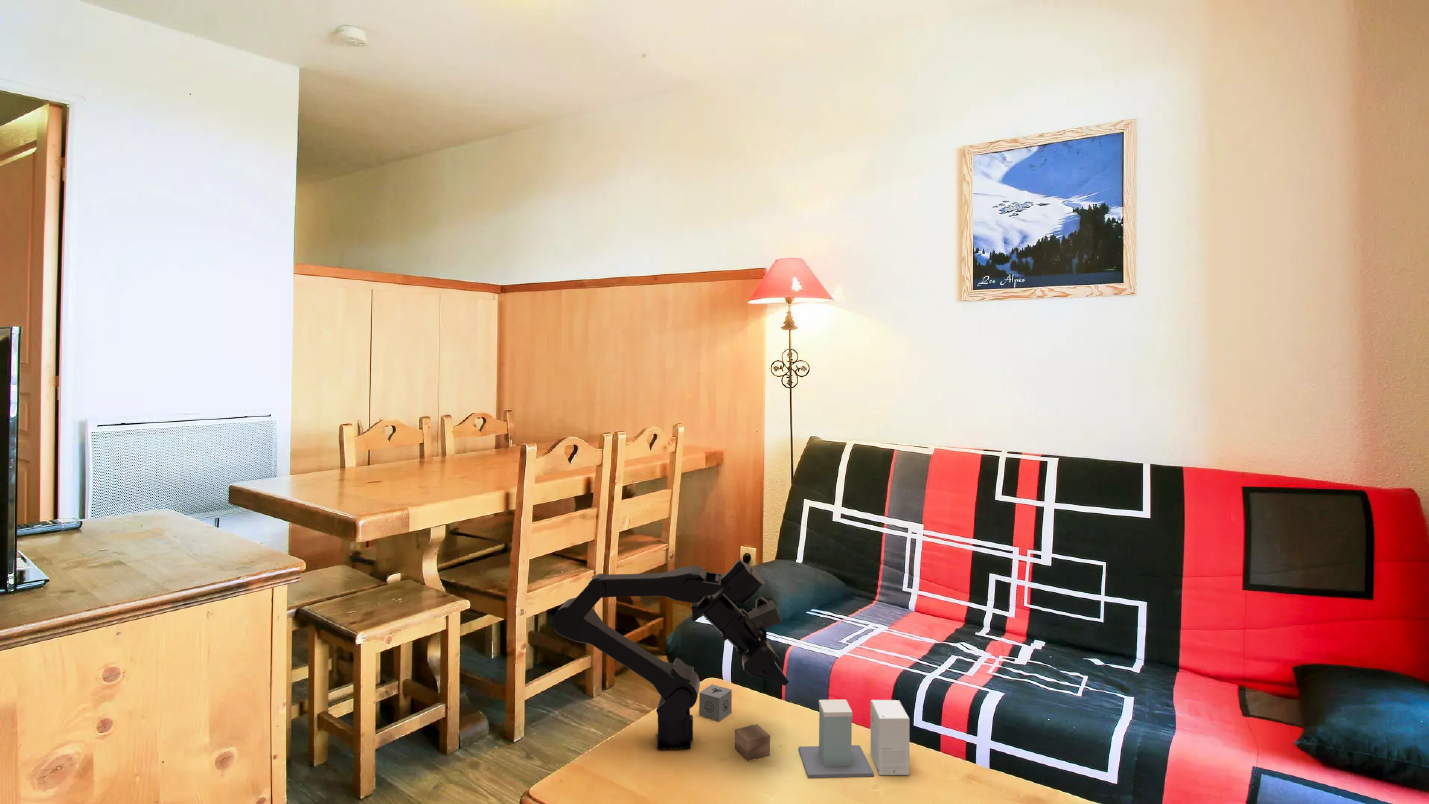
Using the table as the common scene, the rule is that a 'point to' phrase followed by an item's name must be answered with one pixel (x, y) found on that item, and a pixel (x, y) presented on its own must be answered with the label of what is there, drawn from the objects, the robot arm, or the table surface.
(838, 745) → the tea tin
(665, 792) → the table surface
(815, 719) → the table surface
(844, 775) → the felt coaster
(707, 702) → the dice cube
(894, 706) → the small box
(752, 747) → the walnut block
